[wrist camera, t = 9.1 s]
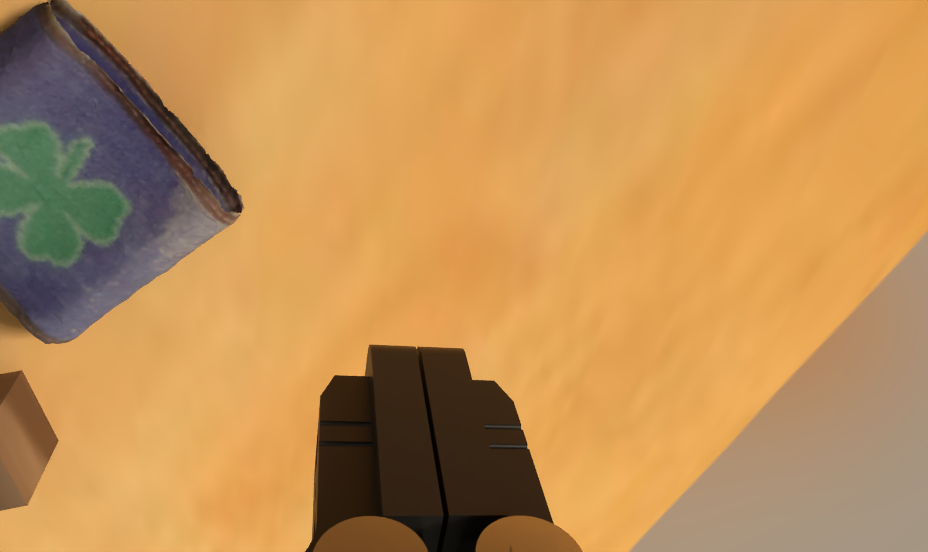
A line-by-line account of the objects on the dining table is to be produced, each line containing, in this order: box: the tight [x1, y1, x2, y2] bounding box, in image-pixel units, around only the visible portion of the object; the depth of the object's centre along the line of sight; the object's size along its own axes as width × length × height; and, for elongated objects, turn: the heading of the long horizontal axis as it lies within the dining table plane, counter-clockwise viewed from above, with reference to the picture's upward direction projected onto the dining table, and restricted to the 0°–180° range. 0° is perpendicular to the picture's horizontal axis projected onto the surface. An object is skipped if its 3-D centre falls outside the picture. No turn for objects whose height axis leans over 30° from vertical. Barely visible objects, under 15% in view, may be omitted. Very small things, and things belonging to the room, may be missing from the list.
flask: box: [0, 0, 244, 344], centre depth 26 cm, size 9×3×11 cm
